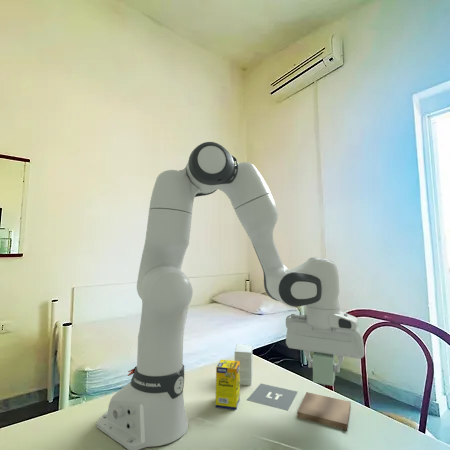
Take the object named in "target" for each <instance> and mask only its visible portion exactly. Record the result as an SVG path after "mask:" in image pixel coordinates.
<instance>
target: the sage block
mask: <svg viewBox="0 0 450 450" xmlns="http://www.w3.org/2000/svg"><path fill="white" fill-rule="evenodd" d="M312 353H313V354H312V359H313V368H312V382H313V383H315V384H321V385H326V386H332V387H333V386H334V383H335V380H336V372H333V369H334V368H333V364H334V363H336V362H335V360H336V359H335V356H336V355H332V354H325V353H319V352H312Z"/></svg>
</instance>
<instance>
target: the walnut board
mask: <svg viewBox="0 0 450 450" xmlns="http://www.w3.org/2000/svg"><path fill="white" fill-rule="evenodd" d="M351 404H352V403H351V401H349V400H345V399H339V398H335V397H331V396H330V397H329V396H326V395H322V394H316V393H312V392H306V393H305V395H304V397H303V399H302V400H301V403H300V405H299V407H298V409H297V412H296V417H297V418H299V419H303V420H307V421H311V422H315V423H317V424H322V425H327V426H330V427H333V428H338V429H341V430H343V431H348V429H349V421H350V413H351Z"/></svg>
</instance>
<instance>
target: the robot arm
mask: <svg viewBox="0 0 450 450" xmlns="http://www.w3.org/2000/svg"><path fill="white" fill-rule="evenodd" d="M218 190H219V191H221V192H222V193H224V194H225V195H226V197H228V199H229V200H230V202H231V205H232V208H233V210H234V212H235V215H236V216H237V219H238V220H239V223H240V224H241V226H242V227H243V229H244V231H245V233H246V234H247V236H248V238H249V239H250V242H251V244H252V247H253V249H254V252H255V254H256V256H257V259H258V261H259V263H260V265H261V269H262V272H263V286H264V291H265V293H266V295H268V297H269V298H271V300H274V301H277V302H281V304H284V305H287V306H289V307H293V308H294V307H295V308H296V307H304V306H305V308H306V309H305V310H306V311H305V312H306V314H295V313H291V314H289V315H287V316H286V318H285V327H286V336H285V344H286V347H288V349H295V350H301V351H303V354H304V356H305V358H306V360H307V362H308V368H310V369H311V368H312V369H313V357H312V356H311V355H310V354H311V352H312V353H314V352H319V353H325V354H332V355H334V356H337V358H336V359H337V360H338V361H337V363H336V362H335V363H334V364H333V368H334V369H333V372H335V373H340V370H341V369H340V368H341V367H340V366H341V364H342V363H343V362H344V358H345V357H346V358H350V359H351V358H352V359H358V360H361V359H362V358H364V357H365V344H364V339H363V334H362V330H361V329H360V328H359V327H358V326H359V320H358V318H357V317H356V316H354V315H352V314H349V313H346V312H343V311H341V307H340V303H339V294H340V277H339V270H338V266H337V265H336V263H335V262H334V261H332V260H330V259H326V258H320V257H309V258H308V259H307V260H305V262H303V263H301V264H300V265H297V266H296V267H292V268H288V267H287V266H286V265H285V264H284V263H283V261H282V258H281V255H280V253H279V251H278V247H277V246H276V244H275V240H274V230H275V226H276V224H277V222H278V218H279V213H278V208H277V204H276V201H275V199H274V196H273V195H272V192H271V190H270V188H269V186H268V185H267V183H266V180H265V179H264V178H263V175H262V174H261V173H260V172H259V170H258V169H257V166H255V165H254V164H253V163H251V162H248V161H245V162H244V161H242V162H238V159H237V158H236V157H234V155H232V154H231V153H230V152H229V151H228V150H227V149H226V148H225V147H224V146H223V145H221V144H219V143H217V142H215V141H205V142H202V143H200V144H198V145H197V146H196V147H195V148H193V150H192V152H191V153H190V155H189V157H188V162H187V163H186V165H185V167H184V168H183V169H180V170H178V169H176V170H175V169H168V170H165V171H162V172H160V173H159V174H158V176H157V177H156V180H155V183H154V185H153V189H152V193H151V197H150V202H149V208H148V209H149V210H148V217H147V224H146V233H145V240H144V246H143V250H142V255H141V257H140V259H141V260H140V264H139V269H138V273H137V274H138V275H137V282H136V292H137V295H138V297H139V298H140V299H141V301H142V302H141V303H142V304H141V315H140V316H141V317H140V324H139V331H138V335H137V356H136V357H137V358H136V366H135V367H134V368H132V369H130V370H128V371H127V372H128V374H127V376H128V377H130V376H131V375H132V377H131V380H130V381H129V382H128V383H127V384H125V385H124V386H123V387H122V388H121V389H119V390H118V391H116V393H115V394H113V396H112V397H111V398H110V401H109V403H108V408H107V411H106V412H105V413H103V415H101V416H100V418H99V419H98V420H97V421H96V428H98V429H99V430H100V431H101V432H103V433H105V434H106V435H107V436H108V437H110V438H112V439H113V440H114V441H116V442H117V443H119V444H120V445H121V446H123V447H124V448H126V450H142V449H144V448H151V447H158V446H163V445H169V444H171V443H173V442H176V441H177V440H178V439H180V438H181V437H183V436H184V435H185V433H186V432H187V431H188V428H189V420H188V418H187V412H186V408H185V407H186V406H185V400H184V386H185V365H184V363H183V361H184V335H185V326H186V322H187V321H186V320H187V318H188V311H189V305H190V304H191V302H192V298H193V287H192V283H191V281H190V279H189V278H188V277H187V275H186V274H185V273H184V272H183V271H182V266H183V262H184V258H185V254H186V251H187V249H188V247H189V245H190V234H191V228H192V226H191V225H192V217H193V207H194V199H195V198H196V197H197V198H198V197H203V196H208V195H211V194H214V193H216V191H218Z"/></svg>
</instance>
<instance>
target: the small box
mask: <svg viewBox="0 0 450 450" xmlns="http://www.w3.org/2000/svg"><path fill="white" fill-rule="evenodd" d="M234 361H240V386H252V380H253V344H241V343H237V344H236V347H235V349H234Z"/></svg>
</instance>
